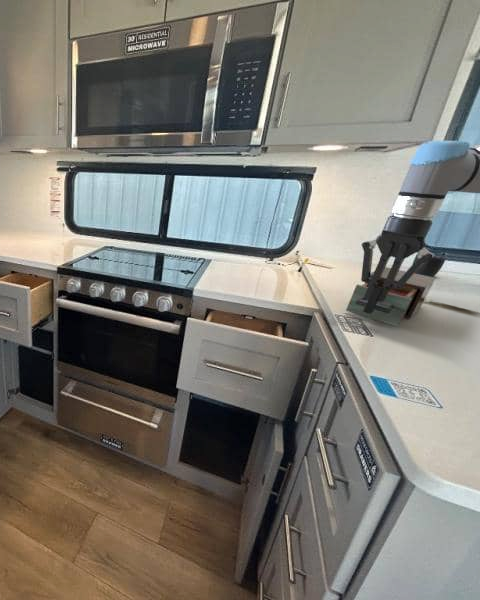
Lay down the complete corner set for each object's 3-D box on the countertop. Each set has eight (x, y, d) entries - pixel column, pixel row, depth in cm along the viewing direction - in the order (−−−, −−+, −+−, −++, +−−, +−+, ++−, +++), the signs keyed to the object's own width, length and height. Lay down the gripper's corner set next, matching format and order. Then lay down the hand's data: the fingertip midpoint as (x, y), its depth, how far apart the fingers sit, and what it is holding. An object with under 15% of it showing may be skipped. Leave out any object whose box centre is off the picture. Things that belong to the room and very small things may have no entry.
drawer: (392, 332, 82) (406, 303, 79) (339, 315, 90) (349, 288, 87) (410, 313, 94) (422, 288, 91) (361, 300, 102) (371, 276, 99)
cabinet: (409, 319, 93) (425, 287, 89) (356, 303, 102) (368, 274, 98) (420, 306, 103) (435, 277, 99) (370, 293, 112) (382, 266, 108)
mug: (435, 278, 133) (447, 256, 130) (433, 284, 126) (445, 260, 122) (408, 273, 139) (419, 251, 135) (404, 278, 131) (415, 255, 128)
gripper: (370, 213, 76) (333, 305, 86) (449, 223, 67) (398, 325, 76) (378, 211, 81) (342, 299, 90) (454, 221, 71) (405, 318, 81)
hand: (368, 311), depth 83 cm, fingers closed
